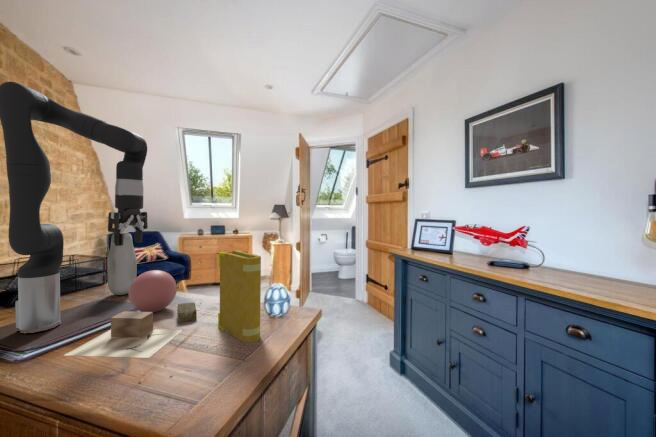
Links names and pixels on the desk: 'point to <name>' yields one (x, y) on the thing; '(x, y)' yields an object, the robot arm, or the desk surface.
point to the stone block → (186, 312)
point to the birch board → (125, 345)
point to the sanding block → (131, 325)
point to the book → (240, 294)
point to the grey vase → (121, 265)
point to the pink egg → (152, 291)
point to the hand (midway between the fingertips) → (129, 243)
